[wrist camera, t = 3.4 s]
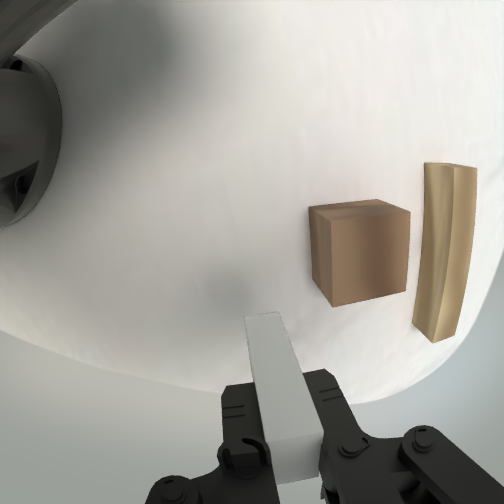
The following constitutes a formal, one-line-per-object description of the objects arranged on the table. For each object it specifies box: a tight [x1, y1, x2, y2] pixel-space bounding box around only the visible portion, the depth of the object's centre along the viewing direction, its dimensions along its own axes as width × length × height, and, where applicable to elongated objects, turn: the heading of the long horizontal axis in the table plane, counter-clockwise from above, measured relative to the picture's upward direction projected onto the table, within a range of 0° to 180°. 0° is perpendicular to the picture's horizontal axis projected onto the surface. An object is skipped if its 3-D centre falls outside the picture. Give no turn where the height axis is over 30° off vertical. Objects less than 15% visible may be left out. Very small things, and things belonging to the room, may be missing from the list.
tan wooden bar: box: [412, 163, 477, 344], centre depth 23 cm, size 3×16×4 cm, turn 6°
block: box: [309, 199, 410, 307], centre depth 22 cm, size 6×6×5 cm
